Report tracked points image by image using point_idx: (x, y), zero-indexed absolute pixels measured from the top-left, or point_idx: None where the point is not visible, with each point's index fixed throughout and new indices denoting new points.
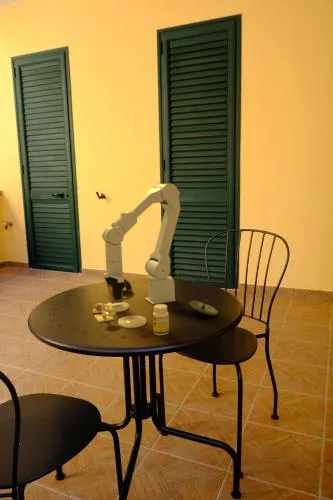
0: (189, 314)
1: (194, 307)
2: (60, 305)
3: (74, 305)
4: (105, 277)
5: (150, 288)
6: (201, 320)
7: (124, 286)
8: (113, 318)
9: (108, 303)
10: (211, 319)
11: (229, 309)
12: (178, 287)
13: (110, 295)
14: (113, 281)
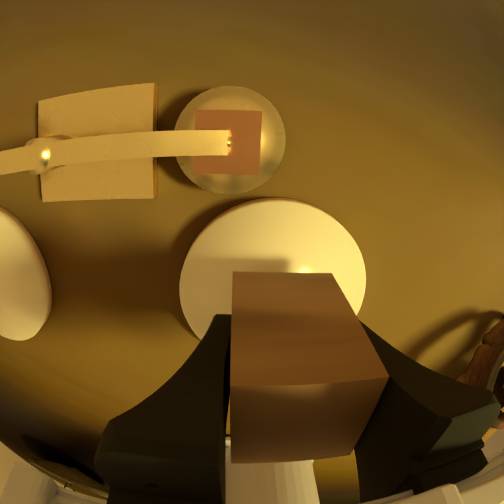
0: (70, 448)
1: (35, 464)
2: (499, 21)
3: (478, 72)
4: (491, 415)
5: (263, 498)
6: (23, 435)
7: (493, 389)
8: (44, 199)
9: (356, 263)
10: (30, 448)
11: (97, 496)
12: (357, 495)
13: (283, 308)
14: (132, 478)
